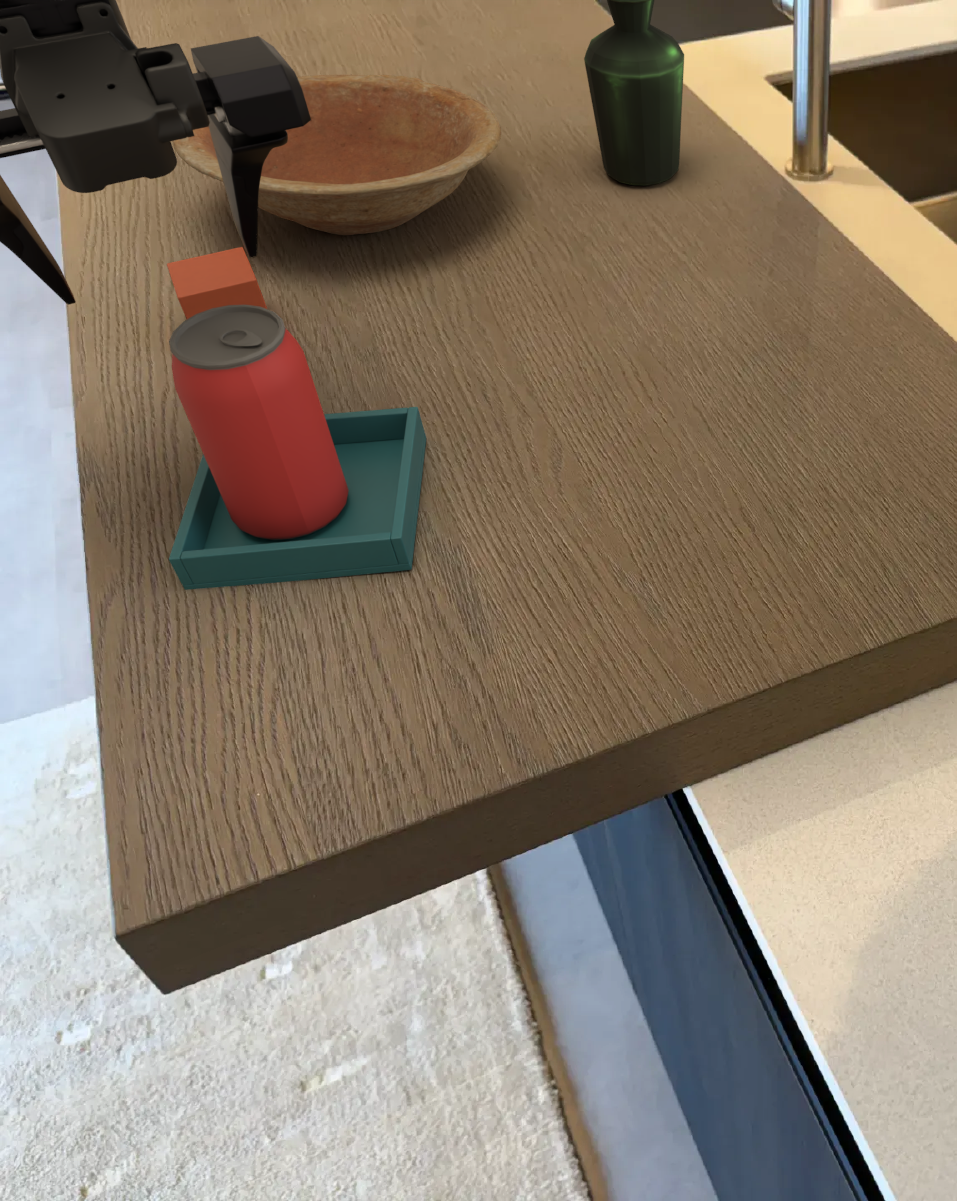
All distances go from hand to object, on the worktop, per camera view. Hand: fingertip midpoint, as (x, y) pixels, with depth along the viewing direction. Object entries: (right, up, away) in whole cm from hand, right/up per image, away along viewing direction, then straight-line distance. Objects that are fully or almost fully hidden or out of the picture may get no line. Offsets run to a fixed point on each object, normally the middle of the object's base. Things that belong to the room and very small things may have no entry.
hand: (163, 276), depth 61 cm
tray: (+5, -12, +7) cm, 15 cm away
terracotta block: (-6, +1, +19) cm, 20 cm away
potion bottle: (+20, +20, +38) cm, 48 cm away
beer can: (+4, -12, +6) cm, 14 cm away
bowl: (-1, +14, +32) cm, 35 cm away
